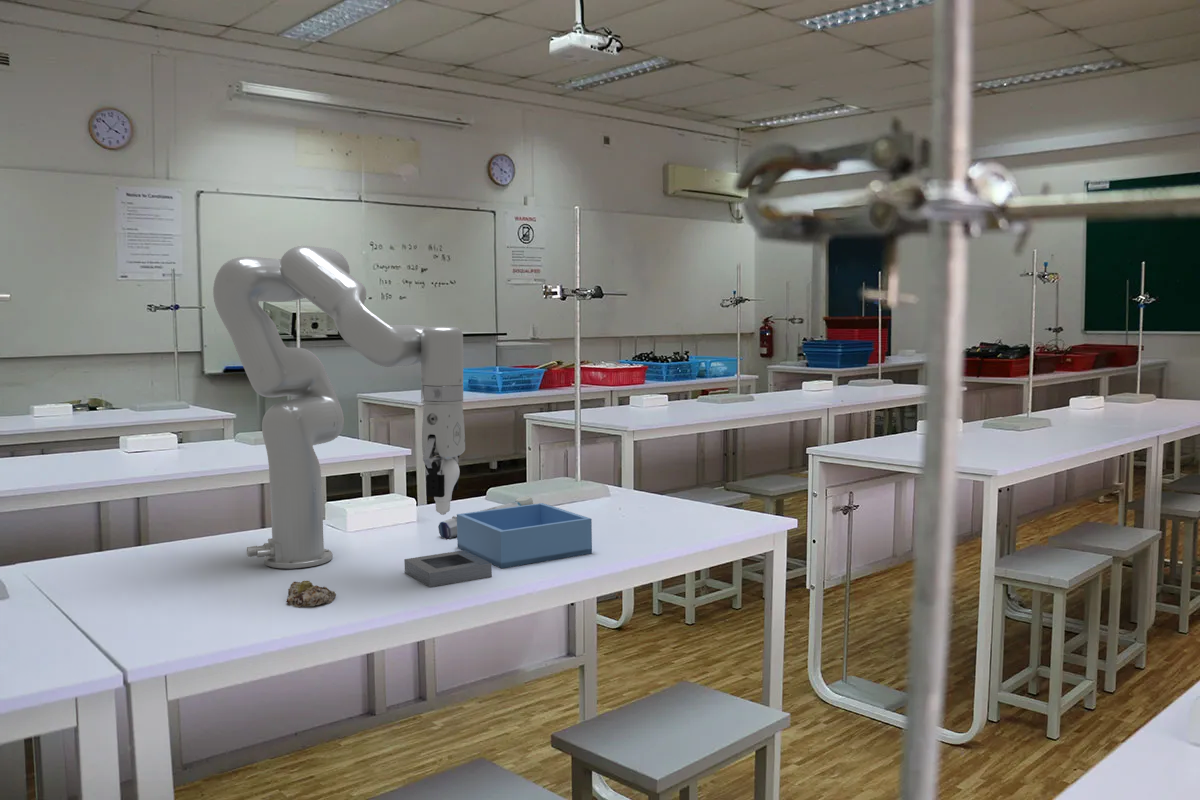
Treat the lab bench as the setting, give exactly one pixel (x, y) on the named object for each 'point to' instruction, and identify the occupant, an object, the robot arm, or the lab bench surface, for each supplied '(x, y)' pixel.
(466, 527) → the bin
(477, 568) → the socket block
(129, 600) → the lab bench surface
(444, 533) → the flashlight
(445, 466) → the lightbulb
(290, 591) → the mineral rock
